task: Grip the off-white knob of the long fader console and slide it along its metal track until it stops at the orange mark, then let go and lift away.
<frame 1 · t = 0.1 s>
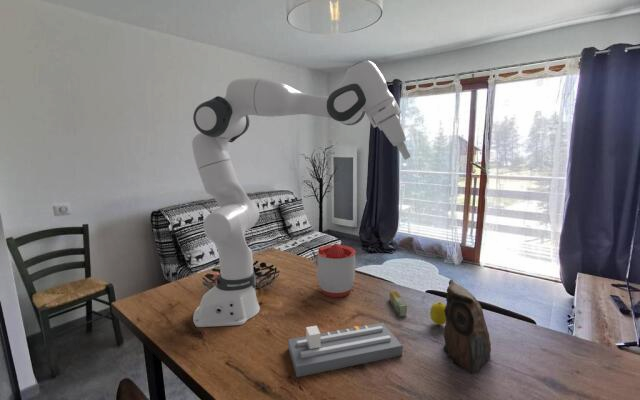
hand: (407, 157, 92), 54 cm above the table, tool tilted 30°, fingers open, 8 cm apart
console: (344, 351, 91), on the table
owl: (468, 358, 89), on the table
medication box: (397, 308, 116), on the table
citrus juicer: (333, 291, 129), on the table
lemon: (438, 325, 104), on the table
fader: (313, 338, 88), point 6 cm above the table, slide at -9.0 cm
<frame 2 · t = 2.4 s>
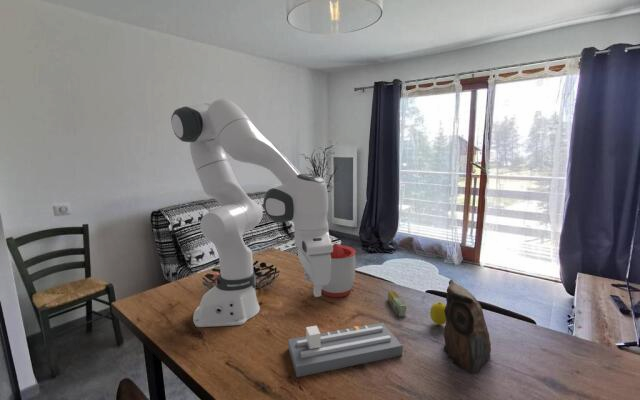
hand: (312, 287, 85), 21 cm above the table, tool pointing down, fingers open, 8 cm apart
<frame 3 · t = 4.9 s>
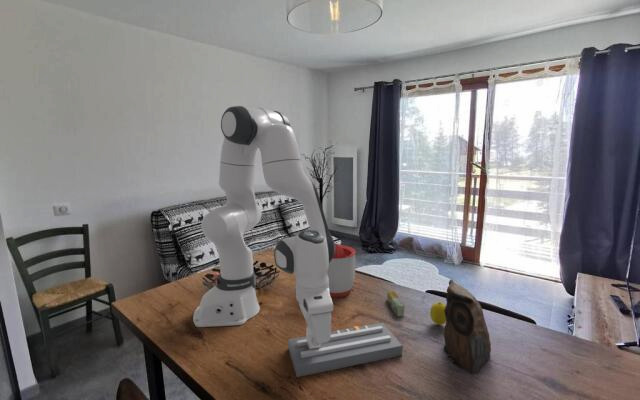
hand: (313, 338, 88), 6 cm above the table, tool pointing down, fingers closed on fader, 4 cm apart
fader: (313, 338, 88), point 6 cm above the table, slide at -9.0 cm, touching gripper
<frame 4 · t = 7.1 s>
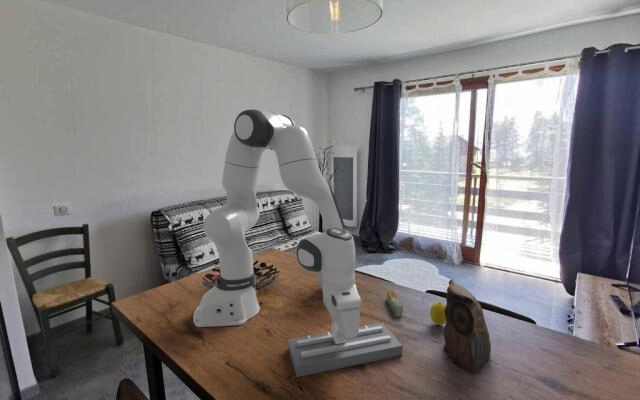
hand: (338, 334, 90), 6 cm above the table, tool pointing down, fingers closed on fader, 4 cm apart
fader: (338, 334, 90), point 6 cm above the table, slide at -1.6 cm, touching gripper
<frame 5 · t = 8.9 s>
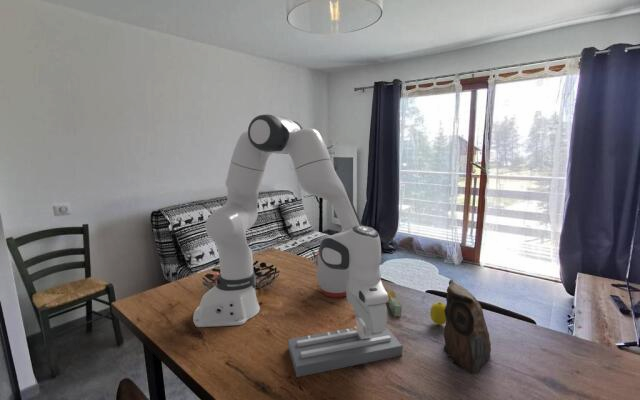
hand: (363, 329, 92), 6 cm above the table, tool pointing down, fingers closed on fader, 4 cm apart
fader: (363, 329, 92), point 6 cm above the table, slide at 5.9 cm, touching gripper
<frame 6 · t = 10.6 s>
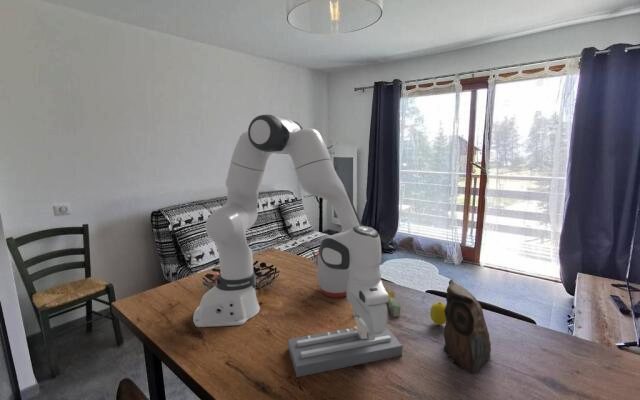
hand: (364, 329, 92), 6 cm above the table, tool pointing down, fingers open, 8 cm apart
fader: (363, 329, 92), point 6 cm above the table, slide at 6.0 cm
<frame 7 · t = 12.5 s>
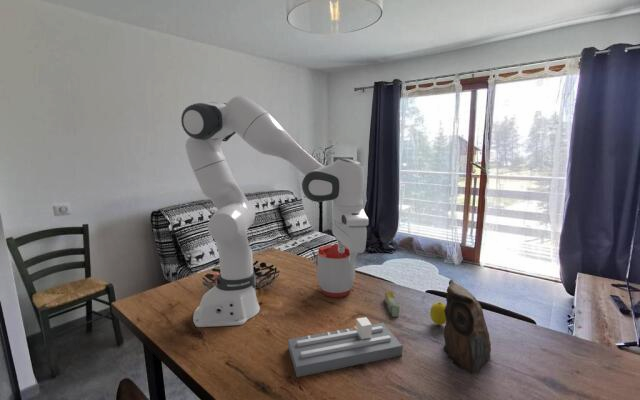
hand: (346, 257, 98), 24 cm above the table, tool pointing down, fingers open, 8 cm apart
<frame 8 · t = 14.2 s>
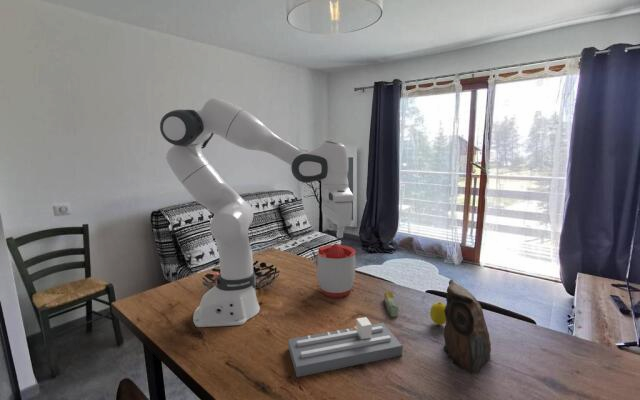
hand: (335, 233, 106), 29 cm above the table, tool pointing down, fingers open, 8 cm apart
at the end: fader slide at 6.0 cm; the gripper is holding nothing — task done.
